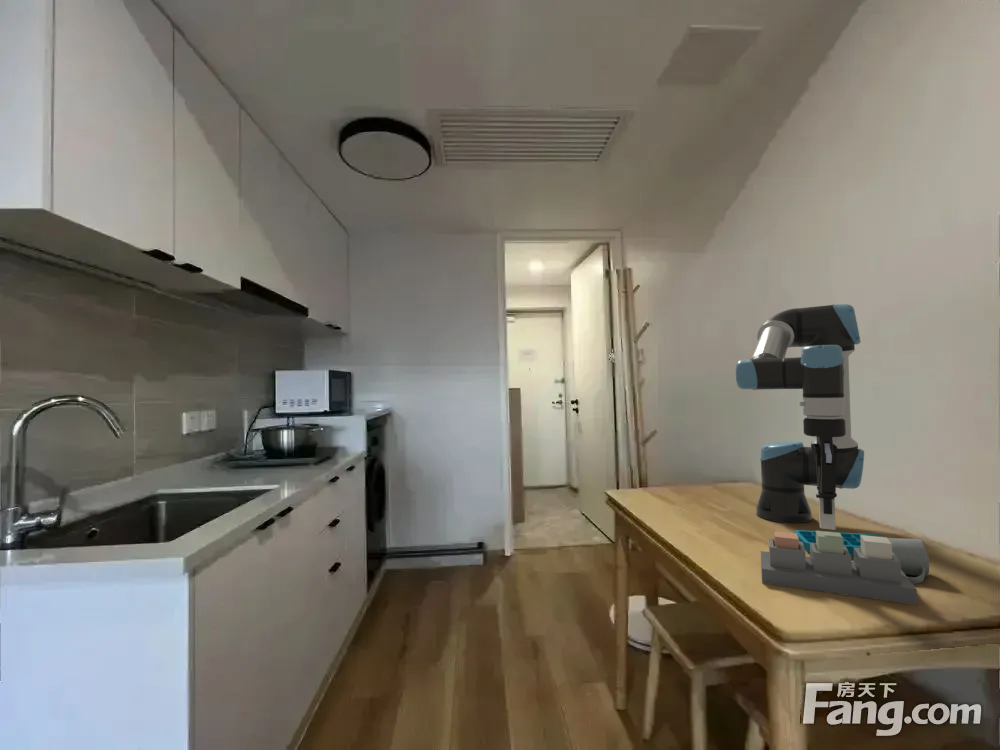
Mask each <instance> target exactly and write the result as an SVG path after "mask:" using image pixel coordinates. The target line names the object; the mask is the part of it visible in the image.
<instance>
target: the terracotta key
mask: <svg viewBox="0 0 1000 750" xmlns="http://www.w3.org/2000/svg"><path fill="white" fill-rule="evenodd" d="M773 537H774V538H773V539H774V542H775V547H783V548H792V549H799V539H798V536H797V533H793V532H786V531H773Z"/></svg>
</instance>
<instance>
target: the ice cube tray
mask: <svg viewBox="0 0 1000 750" xmlns="http://www.w3.org/2000/svg"><path fill="white" fill-rule="evenodd" d="M816 531H817V530H804V529H803V530H802V529H800V530H799V529H796V530H794V531H793V532H794V533H797V536H798V541H799V542H803V545H804V549H805V551H806V552H808V554H810V543H816ZM834 532H835V533H840V534H841V536H842V538H843V545H844V546H846V548H847V550H848V552H849V553H850V555H851V557H853V558H854V547H855V548H861V539H860V535H866V536H877V537H885V536H884V535H881V534H876V533H875V534H873V533H871V534H870V533H857V532H856V533H854V532H838V531H837V532H836V531H834Z"/></svg>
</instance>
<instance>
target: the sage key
mask: <svg viewBox="0 0 1000 750" xmlns="http://www.w3.org/2000/svg"><path fill="white" fill-rule="evenodd" d="M815 531H816V550H817V551H818V552H827V553H836V554H844V545H843V538H842V536H841V534H840V533H841V532H840V533H835V532H836V531H825V530H824V531H823V530H815Z"/></svg>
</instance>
